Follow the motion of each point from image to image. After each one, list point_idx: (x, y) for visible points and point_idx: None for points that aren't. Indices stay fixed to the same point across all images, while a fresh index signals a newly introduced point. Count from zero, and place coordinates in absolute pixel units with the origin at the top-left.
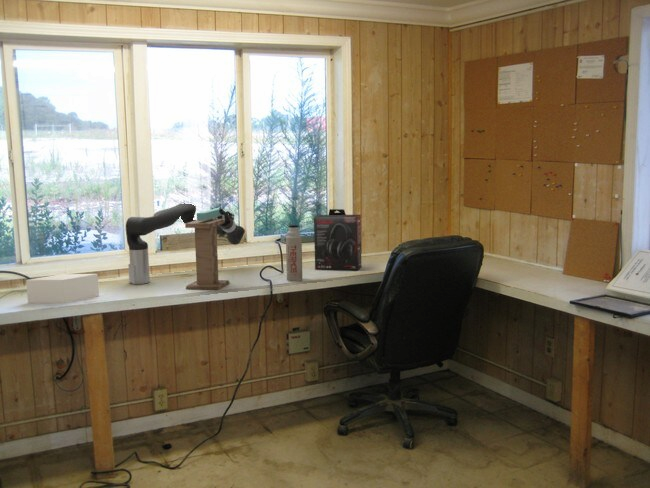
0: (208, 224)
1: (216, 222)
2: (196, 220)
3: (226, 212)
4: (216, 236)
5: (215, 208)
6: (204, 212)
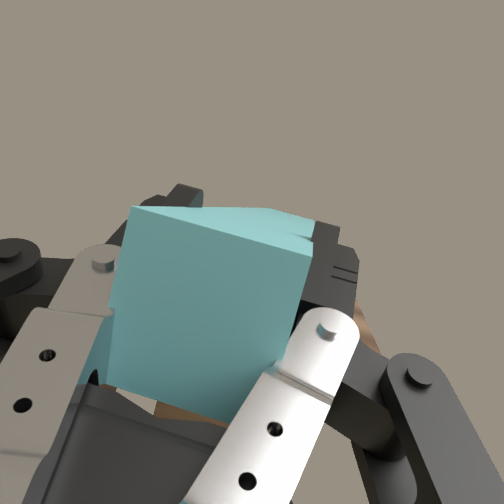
0: None
1: None
2: (361, 321)
3: (42, 266)
4: (157, 406)
5: (305, 245)
6: (279, 212)
